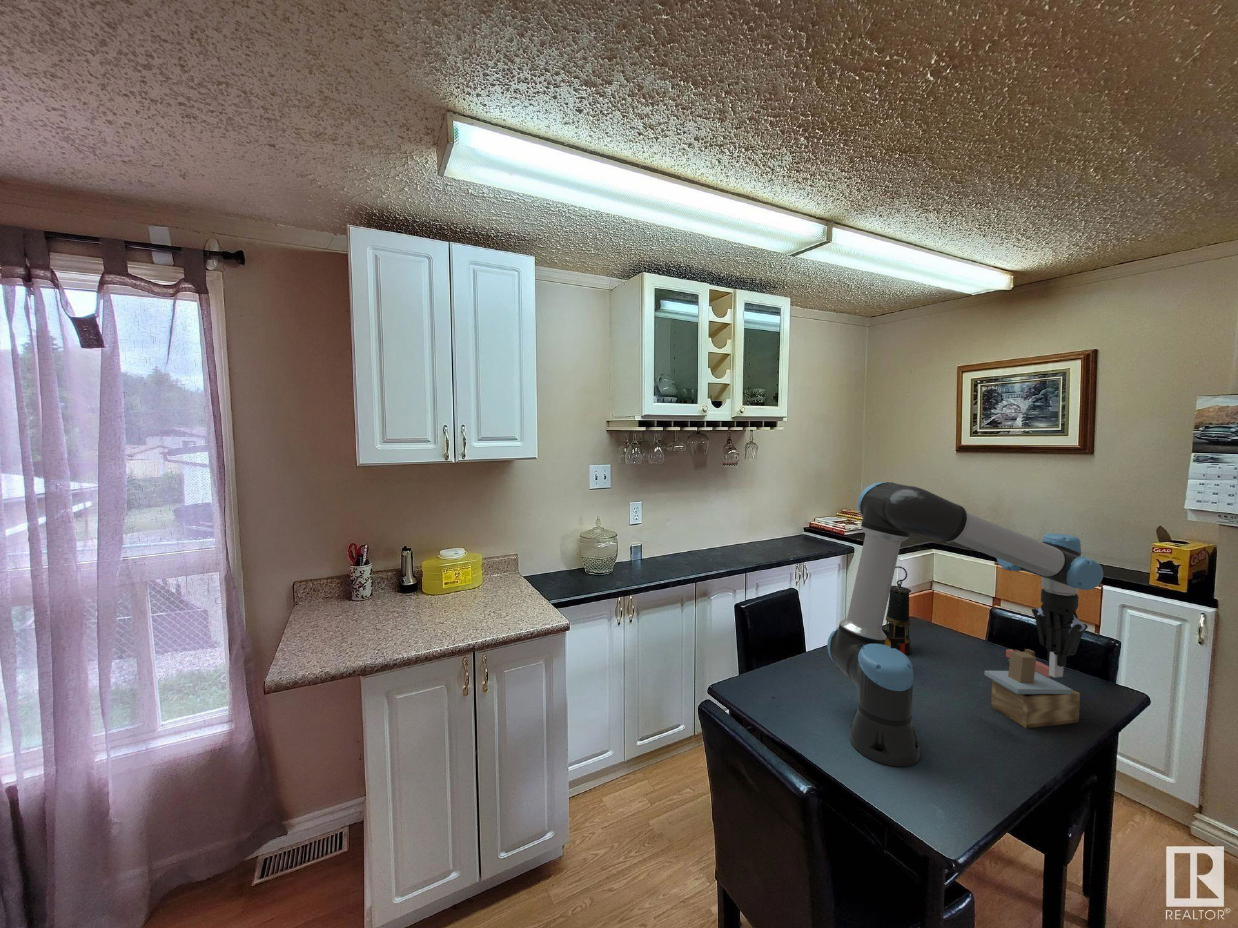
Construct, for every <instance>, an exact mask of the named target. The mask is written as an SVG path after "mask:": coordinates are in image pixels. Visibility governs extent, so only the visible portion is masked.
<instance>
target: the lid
mask: <svg viewBox="0 0 1238 928" xmlns="http://www.w3.org/2000/svg"><path fill="white" fill-rule="evenodd" d="M1009 660H1010V661H1009V666H1008V667H1009V668H1008V670H984V674H983V675H984V676H986V677H987V678H990V679H991V680H992V679H993V681H994V682H996V683H998V684H1000V685H1001V686H1003V687H1005V688H1007V689H1008V690H1010V691H1012V692H1014V693H1015V694H1022V695H1044V694H1072V690H1073V689H1072V688H1070V687H1068V686H1066V685H1064V684H1062V683H1061V682H1058V681H1056V680H1055V679H1054V680H1053V679H1052V678H1050V677H1046V676H1044V675H1042V674H1040V673H1038V672H1036V671H1035V665H1036V661H1037V657H1036V656H1035V657H1034V656H1032V655H1030V654H1028V653H1025V651H1021V652H1011V655H1010V658H1009Z"/></svg>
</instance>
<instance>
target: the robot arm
mask: <svg viewBox="0 0 1238 928" xmlns="http://www.w3.org/2000/svg"><path fill="white" fill-rule="evenodd" d="M857 508H858V511H859V512H860V515H862V520H861V524H860V528H861V530H862V531H863V532H864V535H865V536H864V539H863V543H862V544H863V545H862V549H861V552H860V558H859V563H858V567H857V572H856V576H855V581H854V585H853V590H852V594H851V598H850V603H849V607H848V613H847V616H846V618H844V619H842V620H840V621H839V624H838V627H836V629H835V630H832V632H831V633H830V635H829V636H828V639H827V645H826V647H827V652H828V656H829V657H830V659H831V660H832V662H833V664H834V665H835V666H836V668H837V669H838V670H840V671H841V672H842V673H843V674H844V675H845V676H846V677H847V678H848V679H849V680H850V681H851V682H852V683H853V684H854V686H855V687H856V688H857V690H858V692H857V711H856V713H855V716H854V719H853V722H852V723H851V724H850V728H849V741H850V743H851V745H852V746H853V748H854V749H856V751H858V752H859V754H861V755H862V756H864V757H867V759H870V760H872V761H875V762H876V763H879V764H883V765H886V766H892V767H909V766H913V765H915V764H916V763H918V762H919V760H920V756H921V755H920V753H921V752H920V751H921V750H920V743H919V741H918V740H919V739H918V738H917V734H916V731H915V728H914V725H913V700H914V698H913V697H914V695H913V693H914V682H915V677H914V676H915V675H914V666H913V663H912V662H911V660H910V658H909V657H908V655H905V654H903V653H902V652H901V651H899V650H897V649H895V648H890V646H886V645H885V642H886V635H885V633H884V632H883V630H882V629H883V625H884V620H885V617H886V615H885V614H886V610H887V608H888V603H889V596H890V589H891V586H893V585H892V584H893V580H894V576H895V572H896V568H895V567H896V566H897V561H898V557H899V554H900V548H901V544H902V542H905V541H907V540H908V539H909V538H910V535H911V534H913V535H918V536H923V537H927V538H931V539H934V540H938V541H940V542H943V543H952V542H955V543H957V544H960V545H962V546H964V547H967V548H970V549H973V550H975V551H978V552H981V553H983V554H984V555H988V556H989V557H993V558H995V559H996V561H997V563H998V564H999V566H1000V567H1001V568H1002V569H1004V570H1006V571H1011V572H1017V573H1018V572H1026V573H1029V574H1032V575H1034V576H1039V577H1041V583H1040V587H1041V588H1042V589H1041V590H1040V602H1041V603H1042V604H1040V605H1041V606H1040V607H1039V608H1032V609H1031V613H1032V615H1033V617H1034V620H1035V624H1036V631H1037V636H1038V641H1039V644H1040V646H1041V647H1042V646H1043V647H1045V649H1046V650H1047V653H1046V654H1047V655H1046V656H1047V658H1046V660H1047V662H1049V665H1048V666H1049V675H1050V676H1052V677H1051V678H1063V677H1064V668H1066V666H1067V656H1075V655H1076V653H1077V650H1078V648H1079V645H1080V642H1081V640H1082V636H1083V634H1084V632H1085V631H1086V630H1087V629H1088V625H1087V624H1086V623H1082V622H1081V621H1080V620H1079V618H1078V617H1079V616H1078V614H1077V609H1078V608H1079V599H1080V598H1079V595H1078V593H1079V592H1080V590H1084V591H1090V590H1091V591H1092V590H1094V589H1095V588H1097V587H1099V585H1100V584H1101V583H1102V581H1103V578H1104V571H1103V569H1104V568H1103V567H1102V566H1101V565H1100V563H1098V561H1096V560H1093V559H1091V558H1087V557H1085V556H1083V555H1082V546H1081V545H1082V544H1081V540H1080V538H1079V537H1077V536H1075V535H1071V534H1065V533H1052V532H1051V533H1046V534H1044V535H1043V538H1042V540H1041V541H1039V540H1037V539H1035V538H1032V537H1030V536H1027V535H1024V534H1022V533H1019V532H1017V531H1014V530H1012V529H1009V528H1006V527H1004V526H1002V525H999V524H996V523H993V522H991V521H988V520H986V519H983V518H981V517H978V516H976V515H974V514H971V513H968V511H967V510H966V508H965V507H964V506H963V505H960V504H957V503H955V502H953V501H950V500H948V499H946V498H944V497H941V496H939V495H937V494H934V493H933V492H931V491H929V490H926V489H923V488H922V487H917V486H912V485H905V484H900V483H896V482H893V481H891V482H890V481H884V482H882V481H879V482H875V483H872V484H870V485H868V486H867V487H865V489H864V490H863V491H862V492H861V493H860V496H859V498H858V502H857Z"/></svg>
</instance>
